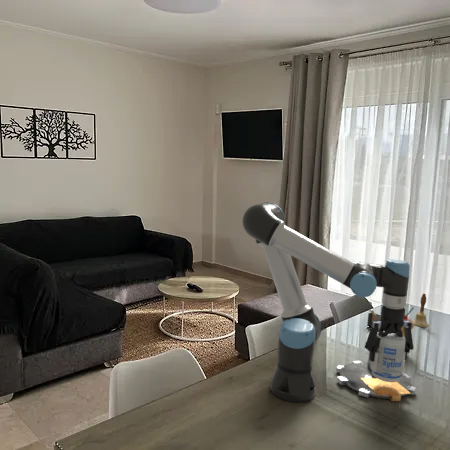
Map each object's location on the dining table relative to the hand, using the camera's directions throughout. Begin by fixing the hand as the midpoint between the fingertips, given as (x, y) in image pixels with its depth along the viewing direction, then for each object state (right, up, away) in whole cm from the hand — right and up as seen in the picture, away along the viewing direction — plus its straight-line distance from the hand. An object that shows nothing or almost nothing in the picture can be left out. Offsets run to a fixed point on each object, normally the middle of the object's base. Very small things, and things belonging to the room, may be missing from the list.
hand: (386, 369), depth 155 cm
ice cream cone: (+18, -4, +39) cm, 43 cm away
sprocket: (-2, -7, +7) cm, 10 cm away
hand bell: (+43, -1, +75) cm, 86 cm away
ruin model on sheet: (+18, -2, +62) cm, 64 cm away
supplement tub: (0, -3, 0) cm, 3 cm away
